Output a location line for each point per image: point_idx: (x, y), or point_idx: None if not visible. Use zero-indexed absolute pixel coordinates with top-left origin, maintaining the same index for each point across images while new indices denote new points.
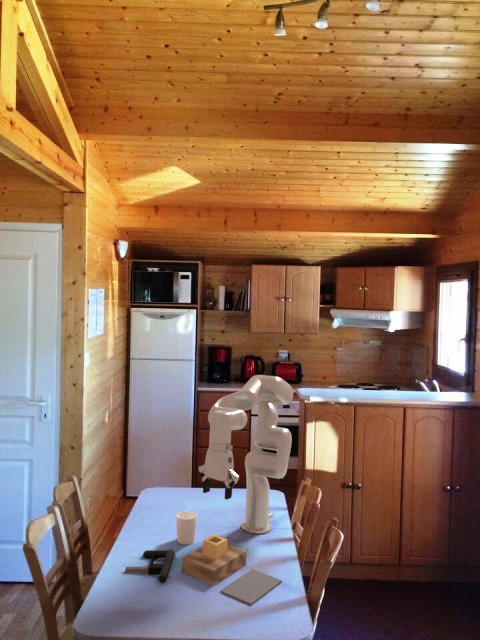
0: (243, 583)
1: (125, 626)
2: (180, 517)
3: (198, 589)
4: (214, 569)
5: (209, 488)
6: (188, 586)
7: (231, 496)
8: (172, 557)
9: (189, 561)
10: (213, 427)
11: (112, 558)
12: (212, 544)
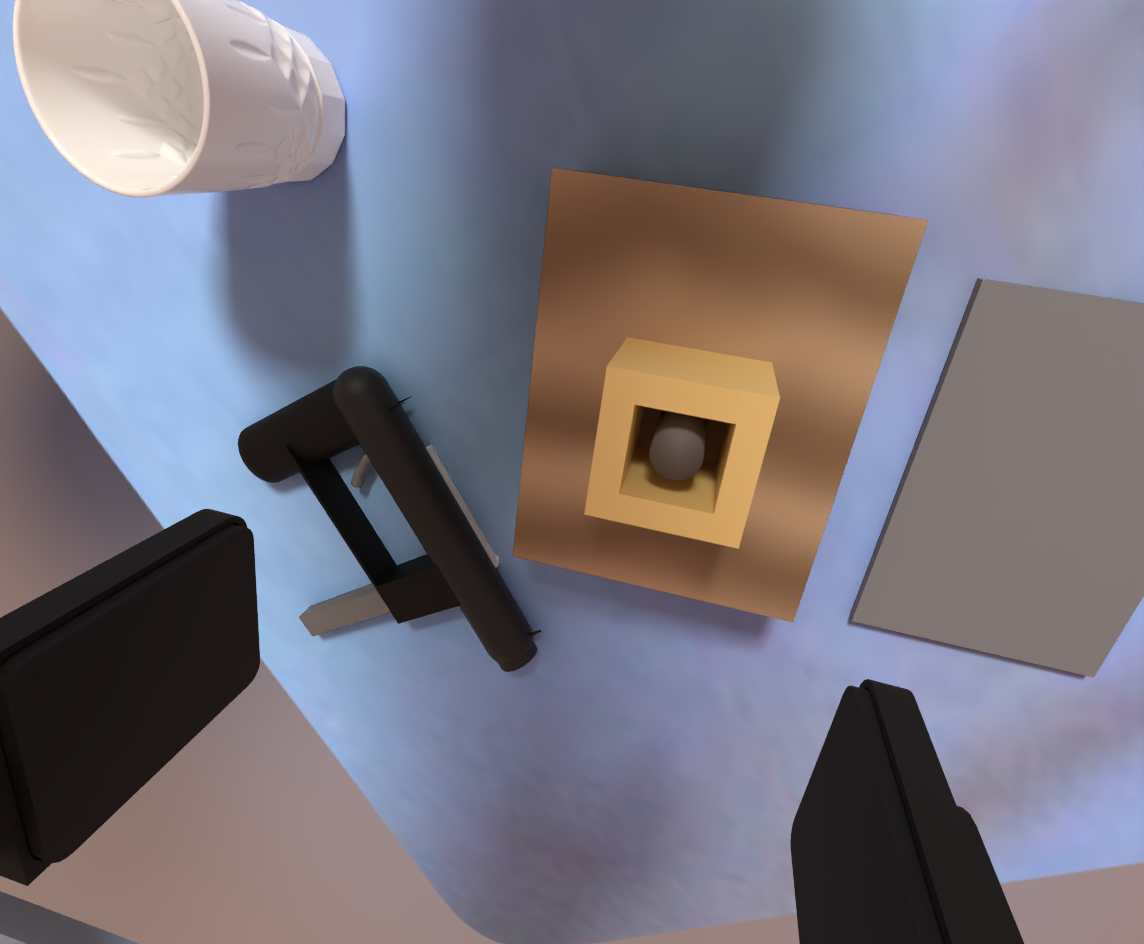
0: (974, 499)
1: (599, 907)
2: (71, 58)
3: (720, 629)
4: (786, 613)
5: (202, 576)
6: (656, 623)
7: (913, 702)
8: (417, 466)
9: (575, 566)
10: None
11: None
12: (688, 534)
